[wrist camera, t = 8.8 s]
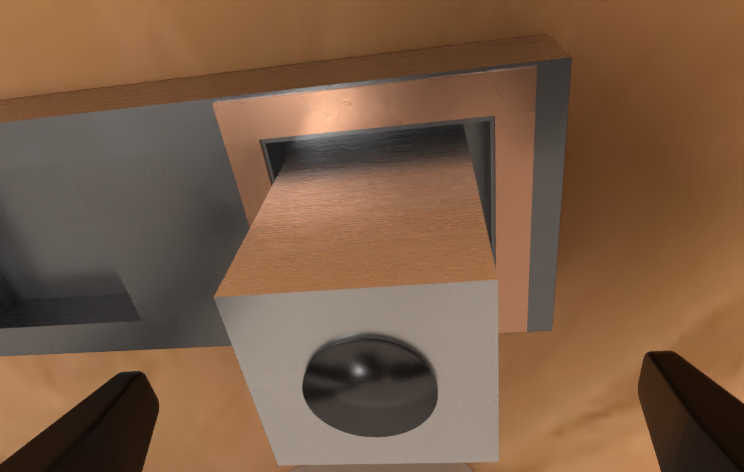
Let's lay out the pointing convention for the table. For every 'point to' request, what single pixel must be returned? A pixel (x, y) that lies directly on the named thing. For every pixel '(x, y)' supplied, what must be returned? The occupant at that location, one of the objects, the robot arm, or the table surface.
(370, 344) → the block
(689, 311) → the table surface
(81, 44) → the table surface
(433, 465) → the lumpy-topped squat cylinder
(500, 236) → the grey flat block
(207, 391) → the table surface
